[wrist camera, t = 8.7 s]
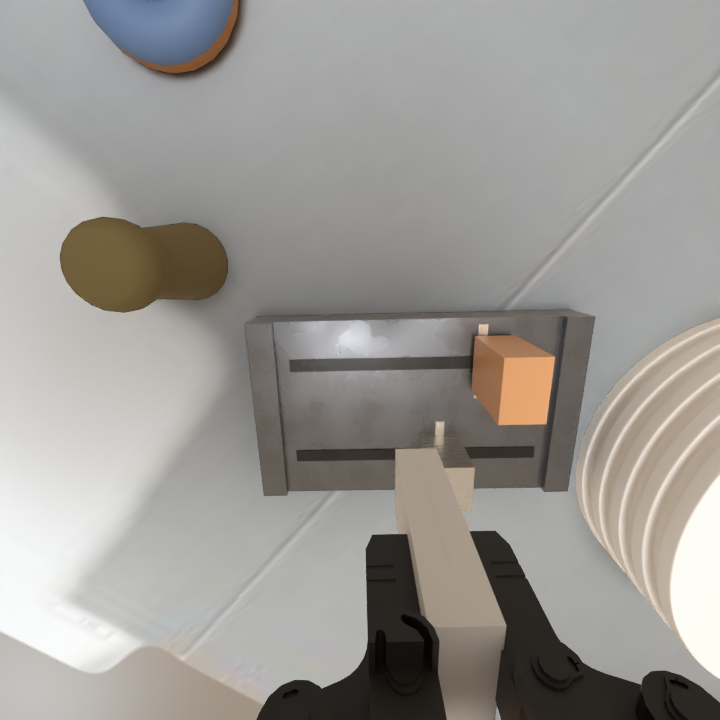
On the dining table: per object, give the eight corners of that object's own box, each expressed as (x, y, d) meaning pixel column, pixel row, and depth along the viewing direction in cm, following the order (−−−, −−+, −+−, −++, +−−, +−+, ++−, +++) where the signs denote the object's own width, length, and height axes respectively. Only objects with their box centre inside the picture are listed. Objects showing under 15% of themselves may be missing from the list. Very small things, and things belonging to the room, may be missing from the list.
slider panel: (257, 316, 31) (222, 337, 23) (568, 309, 30) (638, 328, 23) (273, 471, 35) (248, 533, 27) (547, 467, 35) (599, 528, 27)
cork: (189, 205, 28) (86, 177, 18) (243, 268, 30) (177, 276, 19) (137, 256, 30) (12, 258, 19) (192, 314, 31) (102, 346, 20)
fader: (474, 336, 28) (504, 357, 22) (514, 335, 28) (555, 356, 22) (471, 390, 29) (498, 425, 23) (509, 390, 29) (546, 424, 23)
